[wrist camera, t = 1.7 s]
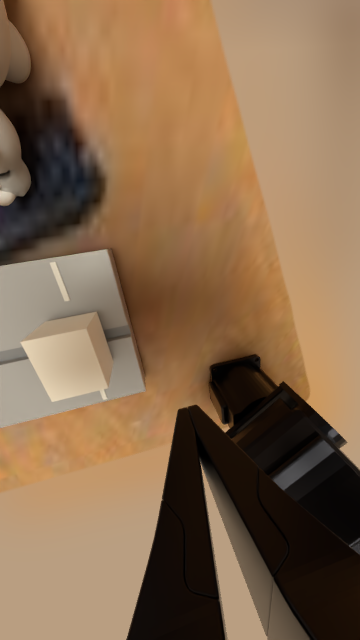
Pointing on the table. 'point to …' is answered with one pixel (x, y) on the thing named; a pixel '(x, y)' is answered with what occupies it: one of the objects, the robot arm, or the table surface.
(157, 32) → the table surface
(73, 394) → the fader cap
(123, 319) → the console board
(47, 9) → the table surface
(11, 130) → the chubby cartoon animal
